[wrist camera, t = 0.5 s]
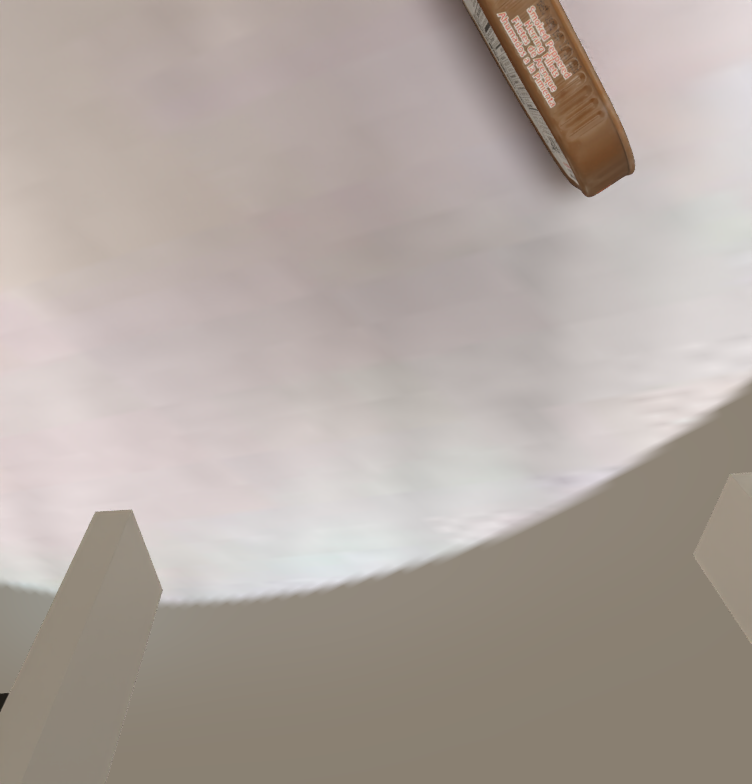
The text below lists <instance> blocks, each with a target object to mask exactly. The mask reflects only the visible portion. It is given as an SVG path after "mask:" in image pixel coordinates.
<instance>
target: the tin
mask: <svg viewBox="0 0 752 784" xmlns="http://www.w3.org/2000/svg"><path fill="white" fill-rule="evenodd" d="M462 2H463V4H464V5H465V7H466V9H467V11H468V13H469V15H470V16H471V18H472V20H473V22H474V23H475V25H476V27H477V29H478V31H479V32H480V34H481V36H482V38H483V40H484V41H485V43H486V45H487V47H488V49H489V50H490V52H491V54H492V56H493V58H494V60H495V61H496V63H497V65H498V67H499V69H500V70H501V72H502V74H503V76H504V77H505V79H506V81H507V83H508V84H509V86H510V88H511V90H512V91H513V93H514V95H515V96H516V98H517V100H518V102H519V103H520V105H521V107H522V108H523V110H524V112H525V113H526V115H527V117H528V118H529V120H530V122H531V123H532V125H533V127H534V128H535V130H536V132H537V133H538V135H539V137H540V138H541V140H542V142H543V143H544V145H545V147H546V148H547V150H548V151H549V153H550V155H551V156H552V158H553V159H554V161H555V162H556V164H557V165H558V167H559V168H560V170H561V171H562V173H563V174H564V176H565V177H566V178H567V180H568V181H569V182H570V183H571V184H572V185H573V186H575V187H576V188H578V189H580V190H581V191H582V193H583V194H584V195H585V196H586V197H592V196H594V195H596V194H598V193H600V192H601V191H603V190H604V189H606V188H607V187H609V186H610V185H612V184H613V183H615V182H616V181H618V180H619V179H621V178H623V177H624V176H626V175H631V174H632V173H633V172H634V170H635V160H634V156H633V153H632V150H631V147H630V144H629V141H628V138H627V136H626V133H625V131H624V128H623V126H622V124H621V122H620V120H619V117H618V115H617V114H616V111H615V109H614V107H613V105H612V103H611V101H610V99H609V97H608V95H607V93H606V91H605V89H604V87H603V85H602V83H601V81H600V79H599V78H598V76H597V74H596V72H595V70H594V68H593V66H592V64H591V62H590V60H589V58H588V56H587V54H586V52H585V50H584V48H583V47H582V45H581V43H580V40H579V39H578V37H577V35H576V33H575V31H574V29H573V27H572V25H571V23H570V21H569V19H568V17H567V16H566V13H565V11H564V9H563V8H562V6H561V4H560V2H559V0H462Z"/></svg>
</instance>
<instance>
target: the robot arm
mask: <svg viewBox="0 0 752 784" xmlns="http://www.w3.org/2000/svg"><path fill="white" fill-rule="evenodd" d="M693 556H694V558H695V559H696V561H697V562H698V564H699V565H700V567H701V568H702V570H703V571H704V573H705V574H706V576H707V577H708V579H709V580H710V582H711V584H712V585H713V587H714V588H715V590H716V591H717V593H718V594H719V596H720V597H721V599H722V600H723V602H724V603H725V605H726V606H727V608H728V609H729V611H730V613H731V614H732V615H733V617H734V619H735V620H736V621H737V623H738V625H739V626H740V628H741V629H742V631H743V632H744V634H745V635H746V637H747V638H748V640H749V641H750V643H751V644H752V473H735V474H730V475H729V477H728V479H727V482H726V484H725V486H724V488H723V491H722V493H721V495H720V497H719V499H718V502H717V504H716V506H715V508H714V510H713V512H712V515H711V517H710V519H709V521H708V523H707V525H706V528H705V530H704V532H703V534H702V536H701V539H700V541H699V543H698V545H697V548H696V550H695V552H694V554H693ZM162 591H163V590H162V587H161V584H160V582H159V579H158V577H157V574H156V571H155V569H154V566H153V563H152V561H151V558H150V556H149V553H148V550H147V548H146V545H145V543H144V540H143V537H142V535H141V532H140V529H139V527H138V524H137V522H136V519H135V516H134V514H133V511H132V510H118V511H101V512H95V514H94V516H93V518H92V520H91V522H90V524H89V526H88V529H87V531H86V533H85V535H84V537H83V539H82V541H81V543H80V545H79V548H78V550H77V552H76V554H75V556H74V558H73V560H72V562H71V564H70V566H69V569H68V571H67V573H66V575H65V577H64V579H63V581H62V583H61V585H60V587H59V590H58V592H57V594H56V596H55V598H54V600H53V602H52V604H51V606H50V609H49V611H48V613H47V615H46V617H45V619H44V621H43V623H42V626H41V627H40V630H39V632H38V634H37V636H36V638H35V640H34V642H33V645H32V646H31V649H30V651H29V653H28V655H27V657H26V659H25V661H24V663H23V665H22V668H21V670H20V672H19V674H18V676H17V678H16V680H15V682H14V684H13V686H12V689H11V691H10V693H4V694H0V784H105V783H106V780H107V777H108V773H109V770H110V767H111V763H112V760H113V756H114V753H115V749H116V746H117V742H118V739H119V736H120V733H121V729H122V726H123V722H124V719H125V716H126V712H127V709H128V706H129V702H130V699H131V695H132V692H133V689H134V685H135V682H136V679H137V675H138V672H139V668H140V665H141V662H142V658H143V655H144V651H145V648H146V645H147V641H148V638H149V635H150V631H151V628H152V624H153V621H154V617H155V614H156V611H157V608H158V604H159V601H160V597H161V594H162Z"/></svg>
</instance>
